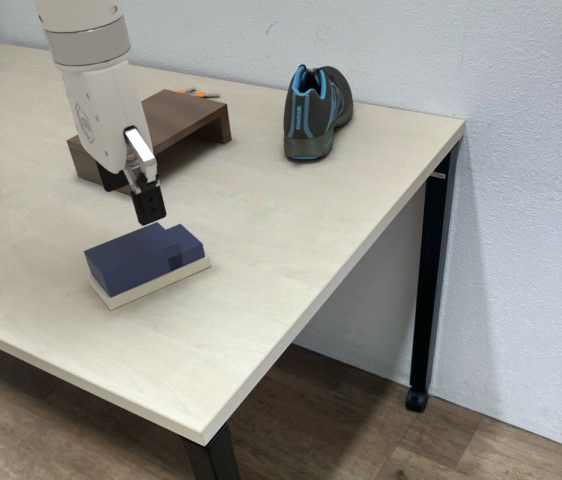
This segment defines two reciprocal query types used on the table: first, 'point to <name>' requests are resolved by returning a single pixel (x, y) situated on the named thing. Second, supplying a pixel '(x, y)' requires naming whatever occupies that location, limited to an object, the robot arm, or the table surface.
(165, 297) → the table surface
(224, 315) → the table surface
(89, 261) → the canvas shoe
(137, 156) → the robot arm
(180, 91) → the key chain
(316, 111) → the running shoe
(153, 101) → the shoe shelf
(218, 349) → the table surface
